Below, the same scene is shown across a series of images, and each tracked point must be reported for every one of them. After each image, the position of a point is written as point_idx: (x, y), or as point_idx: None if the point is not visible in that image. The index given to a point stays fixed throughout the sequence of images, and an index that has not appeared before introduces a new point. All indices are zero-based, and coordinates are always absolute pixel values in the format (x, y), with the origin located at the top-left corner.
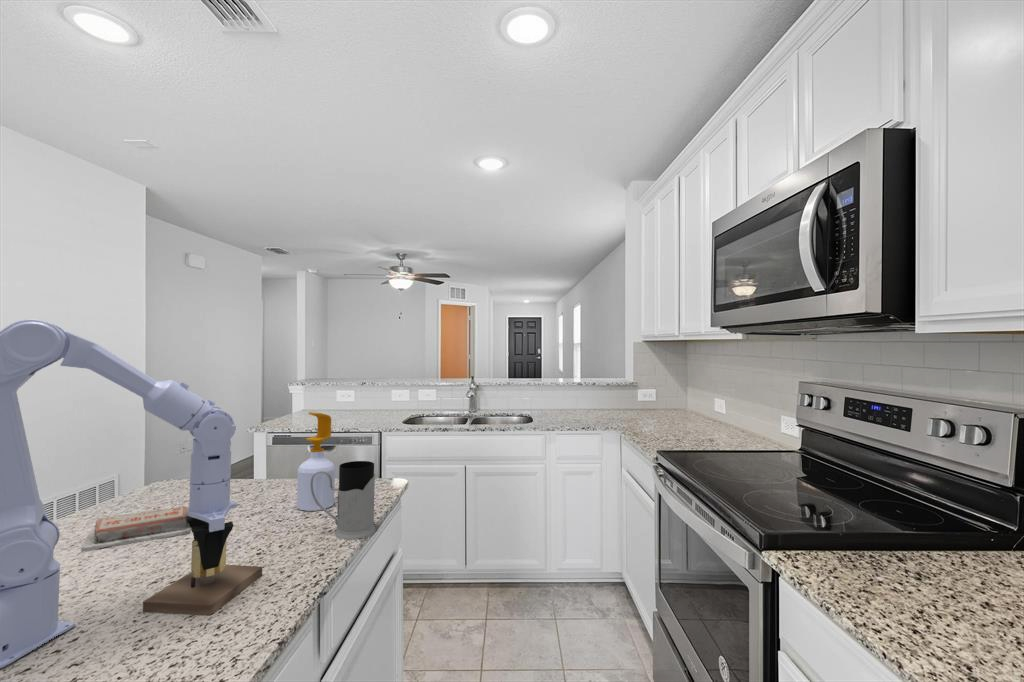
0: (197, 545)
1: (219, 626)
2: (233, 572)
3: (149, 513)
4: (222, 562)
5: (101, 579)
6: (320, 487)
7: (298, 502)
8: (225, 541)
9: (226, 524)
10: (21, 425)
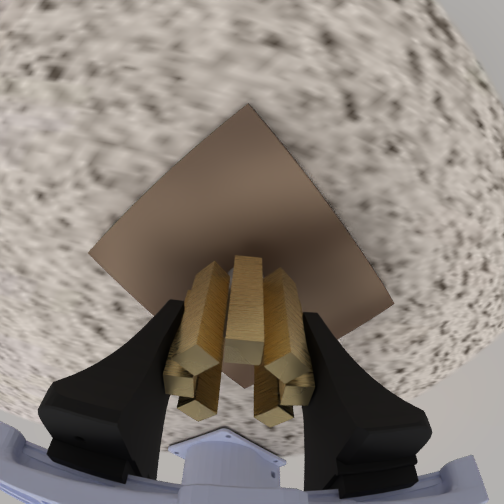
0: (271, 422)
1: (441, 285)
2: (221, 201)
3: None
4: (291, 294)
5: (48, 374)
6: None
7: None
8: (369, 375)
9: (390, 448)
10: None
